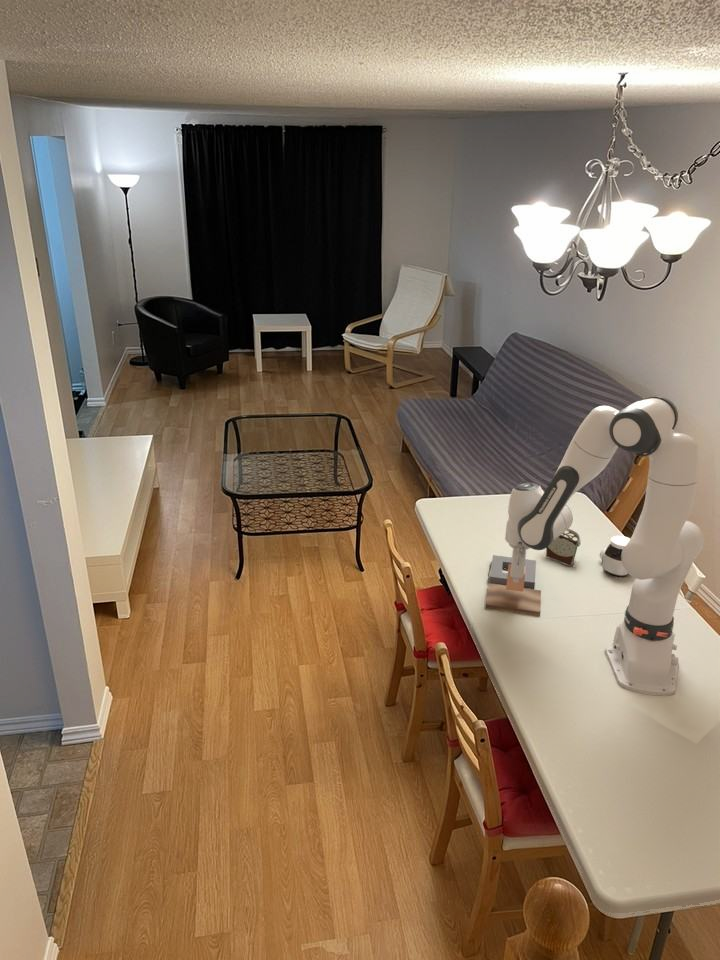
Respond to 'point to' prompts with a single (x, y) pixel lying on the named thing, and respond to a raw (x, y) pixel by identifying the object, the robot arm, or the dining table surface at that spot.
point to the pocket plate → (501, 578)
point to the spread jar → (614, 557)
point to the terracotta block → (513, 585)
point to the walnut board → (513, 600)
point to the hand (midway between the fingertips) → (516, 575)
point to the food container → (564, 547)
